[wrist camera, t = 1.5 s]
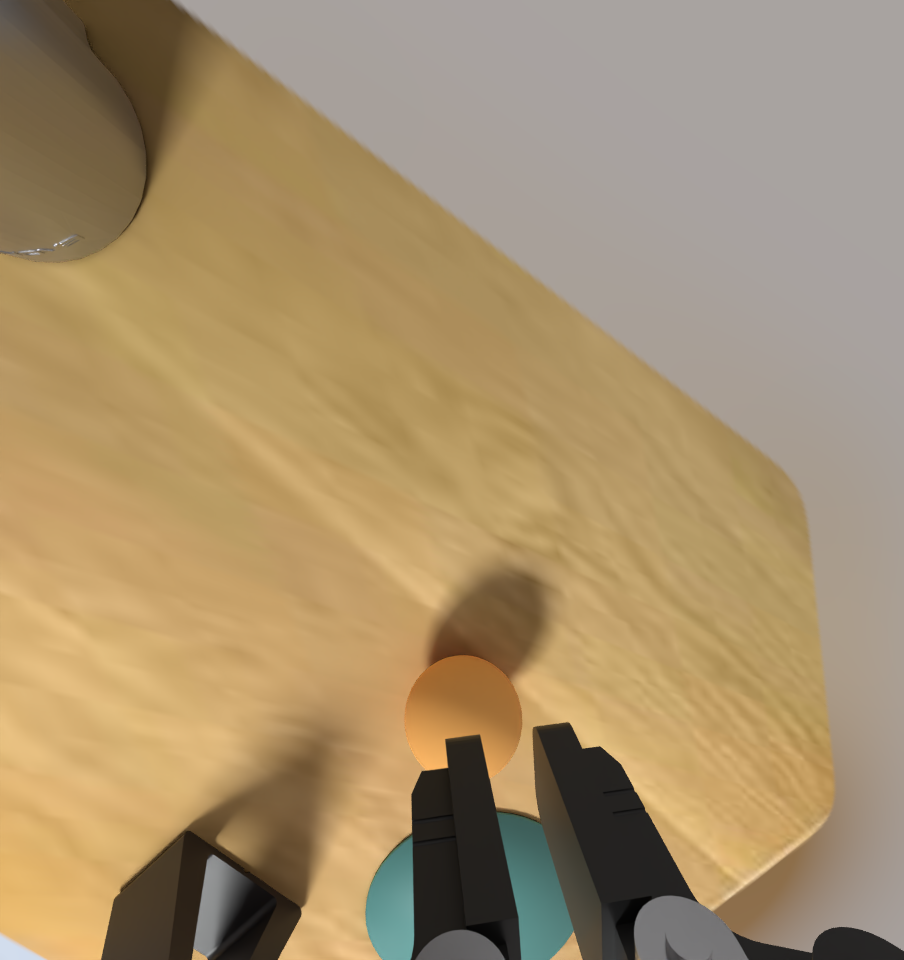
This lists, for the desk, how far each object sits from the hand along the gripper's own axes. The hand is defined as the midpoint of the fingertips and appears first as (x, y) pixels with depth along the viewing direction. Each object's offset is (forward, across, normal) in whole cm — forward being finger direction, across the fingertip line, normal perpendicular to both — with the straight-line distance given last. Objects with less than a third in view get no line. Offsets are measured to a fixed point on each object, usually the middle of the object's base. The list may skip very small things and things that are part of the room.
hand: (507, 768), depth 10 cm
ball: (+14, 0, +10) cm, 17 cm away
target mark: (+17, 0, +26) cm, 31 cm away
